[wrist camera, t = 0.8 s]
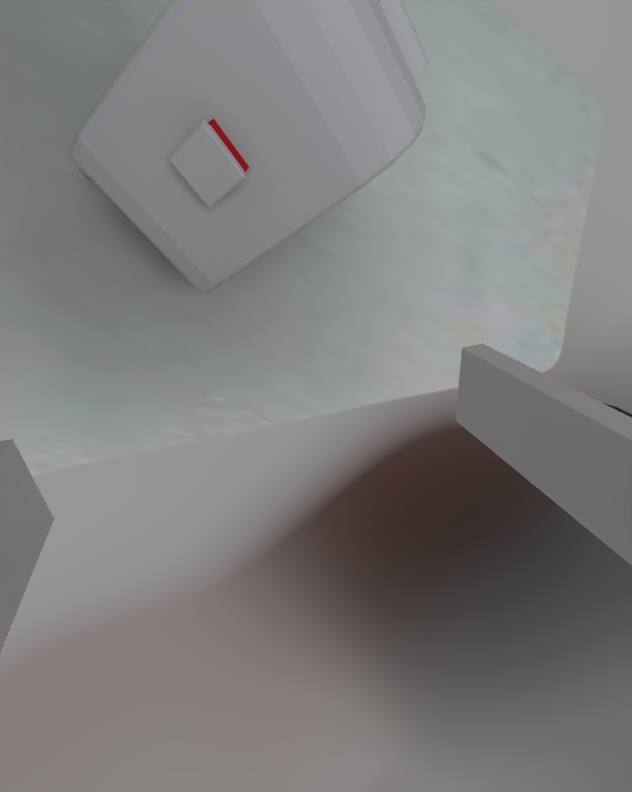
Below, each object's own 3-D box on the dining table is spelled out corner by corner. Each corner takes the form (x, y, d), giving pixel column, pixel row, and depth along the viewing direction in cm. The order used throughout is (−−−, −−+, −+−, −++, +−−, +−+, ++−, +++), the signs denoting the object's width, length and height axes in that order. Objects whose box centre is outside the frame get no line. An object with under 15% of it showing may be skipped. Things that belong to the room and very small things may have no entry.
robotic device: (149, 129, 34) (-38, 232, 21) (362, -123, 23) (247, -261, 9) (234, 232, 39) (128, 368, 26) (443, 70, 28) (446, 165, 14)
